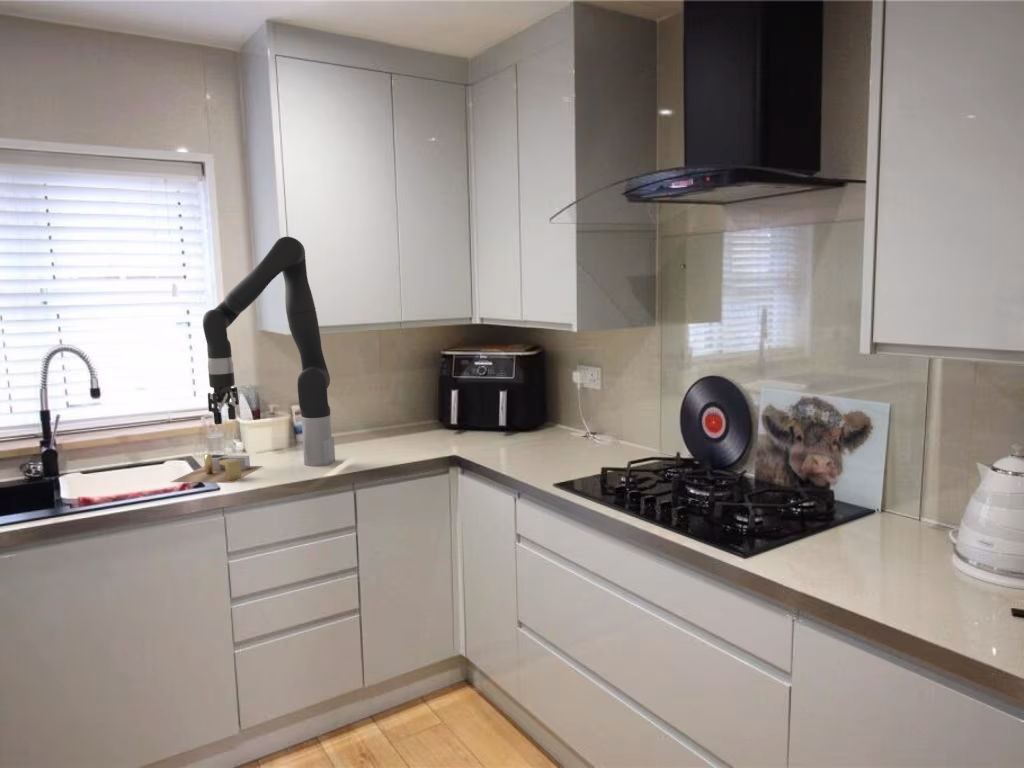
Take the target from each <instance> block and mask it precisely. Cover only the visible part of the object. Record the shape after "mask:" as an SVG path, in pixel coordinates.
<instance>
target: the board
mask: <svg viewBox="0 0 1024 768" xmlns="http://www.w3.org/2000/svg"><path fill="white" fill-rule="evenodd" d="M263 467H264V465H250V468H248V469H246V470H241V478H239V479H235V480H231V481H228V480H226V470H220V471H216V470H213V474H206V470H205V465H204V466H202V467H200V468H198V469H197V468H196V469H195V470H193V471H190V472H188V473H186V474H184V475H182V476H180V477H178V478H176V479H173V480H171V481H170V482H171V483H209V484H210V483H211V484H213V483H217V484H218V483H222V484H226V483H227V484H228V483H230V484H231V483H232V484H233V483H235V482H237V481H239V480H240V479H243V478H244V477H246V476H248V475H250V474H252V473H253V472H255V471H257V470H259V469H261V468H263Z"/></svg>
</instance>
